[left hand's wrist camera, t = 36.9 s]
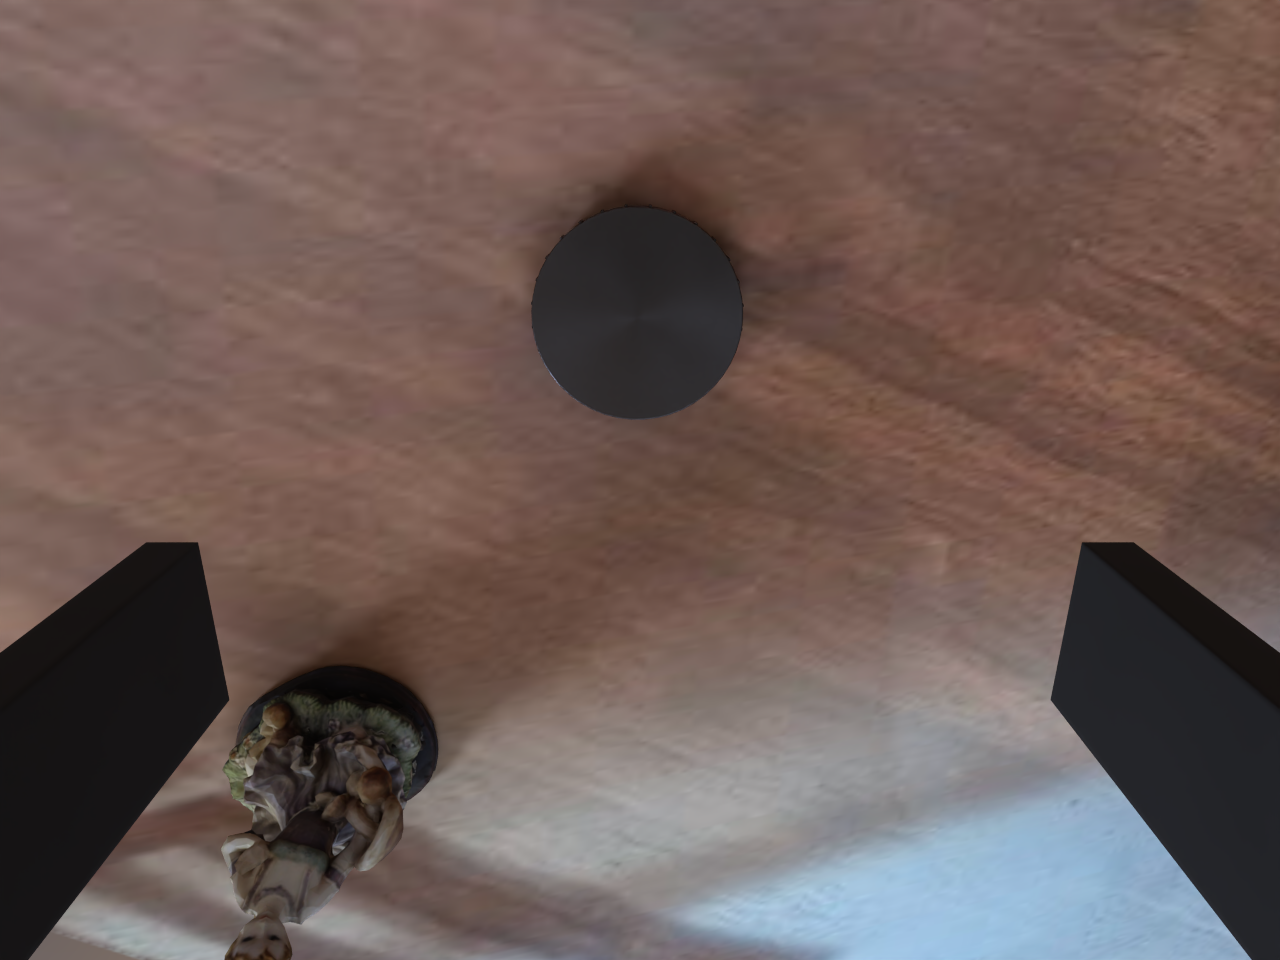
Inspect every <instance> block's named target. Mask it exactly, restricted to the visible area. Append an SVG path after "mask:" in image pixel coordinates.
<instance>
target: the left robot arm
mask: <svg viewBox="0 0 1280 960" xmlns="http://www.w3.org/2000/svg"><path fill="white" fill-rule="evenodd" d="M228 701H229V696H228V691H227V686H226V681H225V676H224V671H223V666H222V661H221V656H220V651H219V646H218V640H217V635H216V630H215V625H214V620H213V615H212V610H211V605H210V600H209V595H208V590H207V585H206V580H205V575H204V570H203V565H202V560H201V555H200V550H199V545H198V542H146V543H145V544H144V545H142V546H141V547H140V548H138V549H137V550H136V551H134V552H133V553H132V554H130V555H129V556H128V557H126V558H125V559H124V560H122V561H121V562H120V563H119V564H117V565H116V566H115V567H113V568H112V569H111V570H109V571H108V572H107V573H105V574H104V575H103V576H101V577H100V578H99V579H97V580H96V581H95V582H93V583H92V584H91V585H89V586H88V587H87V588H85V589H84V590H83V591H81V592H80V593H79V594H78V595H76V596H75V597H74V598H72V599H71V600H70V601H68V602H67V603H66V604H64V605H63V606H62V607H60V608H59V609H58V610H56V611H55V612H54V613H52V614H51V615H50V616H48V617H47V618H46V619H44V620H43V621H42V622H40V623H39V624H38V625H37V626H35V627H34V628H33V629H31V630H30V631H29V632H27V633H26V634H25V635H23V636H22V637H21V638H19V639H18V640H17V641H15V642H14V643H13V644H11V645H10V646H9V647H7V648H6V649H5V650H3V651H2V652H1V653H0V960H28V959H29V958H30V957H31V956H32V954H33V953H34V952H35V950H36V949H37V948H38V946H39V945H40V944H41V943H42V941H43V940H44V939H45V937H46V936H47V935H48V934H49V932H50V931H51V930H52V928H53V927H54V926H55V924H56V923H57V922H58V921H59V919H60V918H61V917H62V915H63V914H64V913H65V912H66V910H67V909H68V908H69V906H70V905H71V904H72V903H73V901H74V900H75V899H76V897H77V896H78V895H79V893H80V892H81V891H82V890H83V888H84V887H85V886H86V884H87V883H88V882H89V881H90V879H91V878H92V877H93V875H94V874H95V873H96V872H97V870H98V869H99V868H100V866H101V865H102V864H103V862H104V861H105V860H106V859H107V857H108V856H109V855H110V853H111V852H112V851H113V850H114V848H115V847H116V846H117V844H118V843H119V842H120V841H121V839H122V838H123V837H124V835H125V834H126V833H127V831H128V830H129V829H130V828H131V826H132V825H133V824H134V822H135V821H136V820H137V819H138V817H139V816H140V815H141V813H142V812H143V811H144V809H145V808H146V807H147V806H148V804H149V803H150V802H151V800H152V799H153V798H154V797H155V795H156V794H157V793H158V791H159V790H160V789H161V788H162V786H163V785H164V784H165V782H166V781H167V780H168V778H169V777H170V776H171V775H172V773H173V772H174V771H175V769H176V768H177V767H178V766H179V764H180V763H181V762H182V760H183V759H184V758H185V757H186V755H187V754H188V753H189V751H190V750H191V749H192V747H193V746H194V745H195V744H196V742H197V741H198V740H199V738H200V737H201V736H202V735H203V733H204V732H205V731H206V729H207V728H208V727H209V725H210V724H211V723H212V722H213V720H214V719H215V718H216V716H217V715H218V714H219V713H220V711H221V710H222V709H223V707H224V706H225V705H226V704H227V702H228ZM1051 701H1052V702H1053V704H1054V705H1055V706H1056V707H1057V709H1058V710H1059V711H1060V713H1061V714H1062V715H1063V716H1064V718H1065V719H1066V720H1067V722H1068V723H1069V724H1070V726H1071V727H1072V728H1073V729H1074V731H1075V732H1076V733H1077V735H1078V736H1079V737H1080V738H1081V740H1082V741H1083V742H1084V744H1085V745H1086V746H1087V747H1088V749H1089V750H1090V751H1091V753H1092V754H1093V755H1094V757H1095V758H1096V759H1097V760H1098V762H1099V763H1100V764H1101V766H1102V767H1103V768H1104V769H1105V771H1106V772H1107V773H1108V775H1109V776H1110V777H1111V778H1112V780H1113V781H1114V782H1115V784H1116V785H1117V786H1118V788H1119V789H1120V790H1121V791H1122V793H1123V794H1124V795H1125V797H1126V798H1127V799H1128V800H1129V802H1130V803H1131V804H1132V806H1133V807H1134V808H1135V809H1136V811H1137V812H1138V813H1139V815H1140V816H1141V817H1142V819H1143V820H1144V821H1145V822H1146V824H1147V825H1148V826H1149V828H1150V829H1151V830H1152V831H1153V833H1154V834H1155V835H1156V837H1157V838H1158V839H1159V841H1160V842H1161V843H1162V844H1163V846H1164V847H1165V848H1166V850H1167V851H1168V852H1169V853H1170V855H1171V856H1172V857H1173V859H1174V860H1175V861H1176V862H1177V864H1178V865H1179V866H1180V868H1181V869H1182V870H1183V872H1184V873H1185V874H1186V875H1187V877H1188V878H1189V879H1190V881H1191V882H1192V883H1193V884H1194V886H1195V887H1196V888H1197V890H1198V891H1199V892H1200V893H1201V895H1202V896H1203V897H1204V899H1205V900H1206V901H1207V903H1208V904H1209V905H1210V906H1211V908H1212V909H1213V910H1214V912H1215V913H1216V914H1217V915H1218V917H1219V918H1220V919H1221V921H1222V922H1223V923H1224V925H1225V926H1226V927H1227V928H1228V930H1229V931H1230V932H1231V934H1232V935H1233V936H1234V937H1235V939H1236V940H1237V941H1238V943H1239V944H1240V945H1241V946H1242V948H1243V949H1244V950H1245V952H1246V953H1247V954H1248V956H1249V957H1250V958H1251V959H1252V960H1280V653H1279V652H1278V651H1277V650H1275V649H1274V648H1273V647H1271V646H1270V645H1269V644H1267V643H1266V642H1265V641H1263V640H1262V639H1261V638H1259V637H1258V636H1257V635H1255V634H1254V633H1253V632H1251V631H1250V630H1249V629H1247V628H1246V627H1245V626H1243V625H1242V624H1241V623H1240V622H1238V621H1237V620H1236V619H1234V618H1233V617H1232V616H1230V615H1229V614H1228V613H1226V612H1225V611H1224V610H1222V609H1221V608H1220V607H1218V606H1217V605H1216V604H1214V603H1213V602H1212V601H1210V600H1209V599H1208V598H1206V597H1205V596H1204V595H1202V594H1201V593H1200V592H1199V591H1197V590H1196V589H1195V588H1193V587H1192V586H1191V585H1189V584H1188V583H1187V582H1185V581H1184V580H1183V579H1181V578H1180V577H1179V576H1177V575H1176V574H1175V573H1173V572H1172V571H1171V570H1169V569H1168V568H1167V567H1165V566H1164V565H1163V564H1161V563H1160V562H1159V561H1158V560H1156V559H1155V558H1154V557H1152V556H1151V555H1150V554H1148V553H1147V552H1146V551H1144V550H1143V549H1142V548H1140V547H1139V546H1138V545H1136V544H1135V543H1134V542H1082V545H1081V550H1080V555H1079V560H1078V565H1077V570H1076V575H1075V580H1074V585H1073V590H1072V595H1071V600H1070V605H1069V610H1068V615H1067V620H1066V625H1065V630H1064V635H1063V640H1062V645H1061V651H1060V656H1059V661H1058V666H1057V671H1056V676H1055V681H1054V686H1053V691H1052V696H1051Z"/></svg>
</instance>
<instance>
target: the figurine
mask: <svg viewBox="0 0 1280 960" xmlns="http://www.w3.org/2000/svg"><path fill="white" fill-rule="evenodd" d="M437 757H438V743H437V736H436V732H435V729H434V725H433V722H432V720H431V719H430V717H429V715H428V713H427V712H426V710H425V709H424V707H423V706H422V704H421V703H420V702H419V701H418V700H417V698H416V697H415V696H414V695H413V694H412V693H411V692H410V691H409V690H408V689H406V688H405V687H404V686H402V685H401V684H399V683H397V682H395V681H393V680H392V679H390V678H388V677H386V676H383V675H381V674H378V673H375V672H372V671H369V670H366V669H362V668H356V667H347V666H331V667H325V668H321V669H317V670H314V671H312V672H309V673H307V674H304V675H302V676H299V677H297V678H295V679H293V680H291V681H289V682H287V683H285V684H283V685H281V686H280V687H278V688H276V689H275V690H273V691H271V692H269V693H267V694H265V695H264V696H262V697H261V698H260V699H258V700H257V701H256V702H255V703H253V704H252V705H251V706H250V707H249V708H248V709H247V711H246V712H245V714H244V715H243V718H242V720H241V722H240V724H239V728H238V734H237V740H236V747H235V748H234V749H232V750H231V751H230V754H229V760H228V761H227V762H226V763H225V765H224V768H223V771H224V773H225V774H226V775H227V777H228V778H229V781H230V787H231V794H232V796H233V798H232V799H235V800H238V801H240V802H241V803H242V804H243V805H244V806H246V807H247V808H249V809H250V810H252V812H253V813H254V815H253V826H252V829H251V830H250V831H247V832H245V833H240V834H235V835H231V836H228V838H227V839H226V841H225V843H224V844H223V846H222V848H221V850H222V853H223V855H224V858H225V861H226V864H227V867H228V869H229V871H230V873H231V881H232V884H233V892H234V896H235V899H236V902H237V903H238V905H239V906H240V908H241V909H242V910H243V911H244V912H245V913H248V914H253V915H254V919H252V920H251V921H250V922H249V923H247V924H246V925H245V926H244V927H243V929H242V930H241V932H240V934H239V936H238V938H237V939H236V940H235V941H234V942H233V944H232V945H231V946H230V948H229V950H228V952H227V953H226V955H225V960H290V959H291V957H292V948H291V945H290V942H289V939H288V936H287V933H286V930H285V927H284V926H283V924H282V923H286V922H293V923H297V924H302V923H303V922H304V920H306V919H307V918H309V917H310V916H312V915H314V914H315V913H317V912H318V911H319V910H320V909H322V908H323V907H324V906H325V905H326V904H327V903H328V902H329V901H330V900H331V899H332V897H333V896H334V895H335V894H336V892H339V889H340V886H341V884H342V883H343V881H344V880H345V878H346V877H347V875H348V874H349V872H350V871H351V870H352V869H353V868H354V867H355V868H356V870H359V871H365V870H369V869H371V868H372V867H374V866H375V865H376V864H377V863H379V862H380V861H381V860H382V859H384V858H385V857H386V856H387V855H388V854H389V853H390V852H391V851H392V850H393V849H394V847H395V846H396V845H397V843H398V842H399V841H400V839H401V837H402V833H403V810H404V808H405V805H406V803H407V800H409V799H411V798H412V797H414V796H415V795H416V794H418V793H419V792H420V791H421V790H422V789H423V788H424V787H425V785H426V784H427V783H428V782H429V780H430V778H431V776H432V773H433V771H434V770H435V768H436V764H437Z"/></svg>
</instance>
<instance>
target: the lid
mask: <svg viewBox="0 0 1280 960" xmlns="http://www.w3.org/2000/svg"><path fill="white" fill-rule="evenodd" d="M560 239H561V241H560V242H559V243H558V244H557V245H556V246H555V247H554V249H553V250H552V251H551V253H550V254H548V255H547V256H546V258H545V259H546V261H545V263H544V265H543V267H542V268H541V270H540V273H539V276H538V277H537V278H536V285H535V289H534V294H533V300H532V302H531V305H532V328H533V333H534V338H535V342H536V345H537V348H538V351H539V353H540V356H541V358H542V360H543V362H544V364H545V366H546V367H547V369H548V371H549V372H550V374H551V375H552V377H553V378H554V379H555V380H556V382H557V383H558V384H559V385H560V386H561V387H562V388H563V389H564V390H565V391H566V392H567V393H568V394H569V395H570V396H572V397H573V398H574V399H576V400H577V401H578V402H580V403H581V404H583V405H585V406H587V407H589V408H590V409H592V410H595V411H597V412H600V413H602V414H605V415H609V416H612V417H616V418H623V419H639V420H644V419H652V418H658V417H662V416H666V415H670V414H673V413H675V412H678V411H680V410H683V409H684V408H686V407H688V406H690V405H692V404H693V403H695V402H696V401H698V400H699V399H700V398H702V397H703V396H704V395H706V394H707V393H708V392H709V391H710V390H711V389H712V388H713V387H714V386H715V385H716V384H717V382H718V381H719V380H720V379H721V378H722V376H723V375H724V373H725V372H726V370H727V369H728V367H729V365H730V364H731V361H732V359H733V357H734V355H735V353H736V350H737V347H738V343H739V340H740V336H741V331H742V322H743V307H744V306H743V303H742V296H741V292H740V287H739V283H740V282H739V280H738V279H737V277H736V275H735V272H734V270H733V268H732V266H731V264H730V262H729V261H730V258H729V257H728V256H726V255H725V254H724V252H723V251H722V250H721V248H720V247H719V245H718V244H717V243H716V242H715V241H716V239H715V238H714V237H713V236H712V237H710V236H709V235H708V234H707V233H706V232H705V231H704V230H702V229H701V228H700V227H699V226H697V223H696V222H695V221H694V222H691V221H690V220H688V219H687V218H685V217H683V216H681V215H678V214H676V212H675V211H674V210H673V211H668V210H665V209H661V208H657V207H652V205H651V204H649V206H628V204H625V206H624V207H617V208H613V209H610V210H606V211H604V209H603V210H601V213H598V214H596V215H594V216H591V217H590V218H588V219H586V220H585V221H583V220H581V221H580V222H579V224H578V225H577V226H576V227H575V228H573V229H572V230H571V231H570V232H569V233H567V234H566V235H565V236H564V235H563V236H562V237H561V238H560Z"/></svg>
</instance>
